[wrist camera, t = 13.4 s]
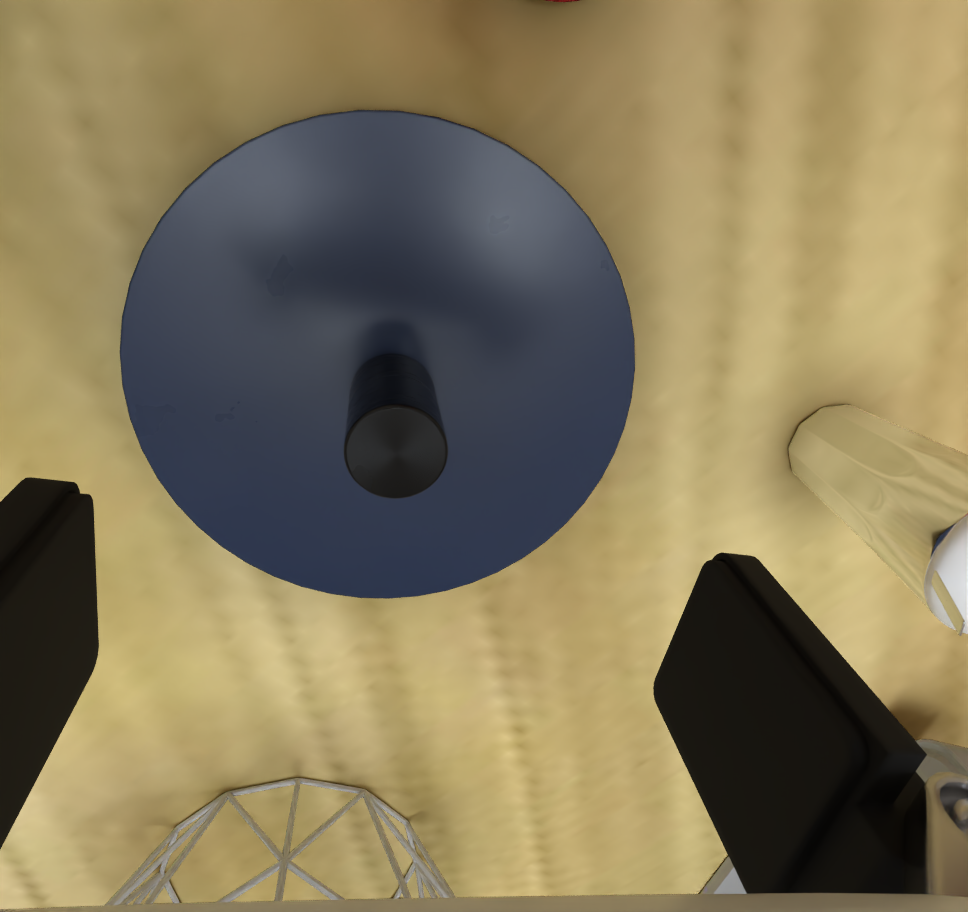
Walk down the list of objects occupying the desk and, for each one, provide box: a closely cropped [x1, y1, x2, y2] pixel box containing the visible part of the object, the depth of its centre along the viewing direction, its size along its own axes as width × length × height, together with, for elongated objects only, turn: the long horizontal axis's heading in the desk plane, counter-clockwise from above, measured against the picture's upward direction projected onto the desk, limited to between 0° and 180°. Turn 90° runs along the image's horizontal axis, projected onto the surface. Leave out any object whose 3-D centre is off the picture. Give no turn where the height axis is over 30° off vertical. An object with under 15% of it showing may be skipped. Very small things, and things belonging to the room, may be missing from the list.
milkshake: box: [788, 404, 968, 636], centre depth 21 cm, size 5×5×10 cm
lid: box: [120, 110, 635, 598], centre depth 19 cm, size 16×16×6 cm
